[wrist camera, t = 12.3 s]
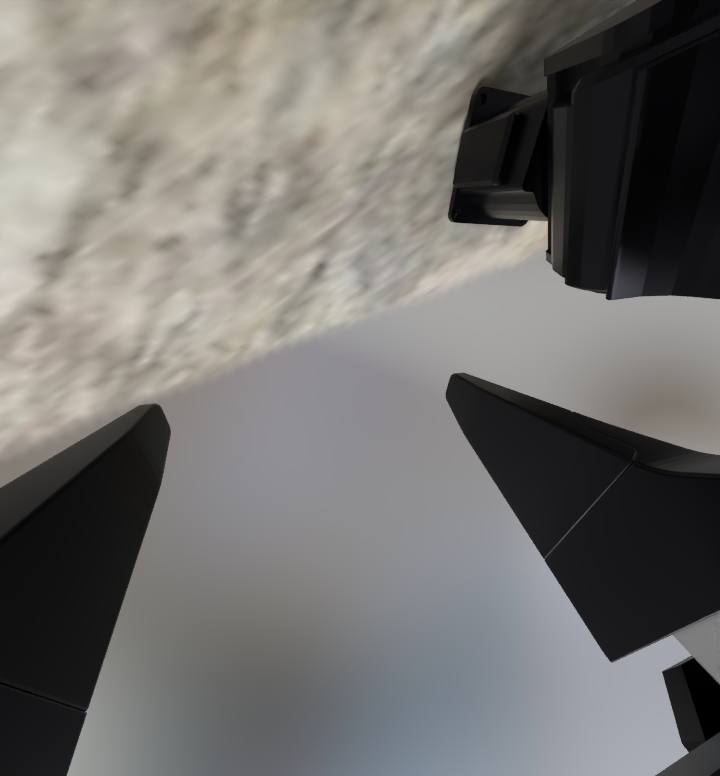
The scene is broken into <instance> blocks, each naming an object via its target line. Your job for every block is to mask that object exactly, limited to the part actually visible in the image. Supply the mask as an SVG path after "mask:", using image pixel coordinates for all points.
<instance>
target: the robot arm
mask: <svg viewBox="0 0 720 776" xmlns="http://www.w3.org/2000/svg"><path fill="white" fill-rule="evenodd" d="M544 76H547V90H545V91H543V92H540V93H538V94H536V95H533V96H527V95H522V94H517V93H513V92H508V91H503V90H499V89H494V88H489V87H481V88H480V89H478V90H476V91H475V92H474V94H473V95H472V98H471V102H470V107H469V112H468V117H467V122H466V127H465V132H464V133H463V134H462V139H461V144H460V149H459V154H458V159H457V164H456V170H455V175H454V180H453V185H454V188H453V193H452V198H451V203H450V208H449V213H448V218H449V220H450V221H451V222H456V223H472V224H488V225H505V226H523V225H525V224H526V223H527V221H528V220H534V221H548V250H547V251H546V260H547V261H548V262H549V263H550V264H552V267H553V270H554V271H555V272H557V273H558V274H559V275H560V276H562V277H564V278H565V284H566V285H568V286H571V287H574V288H578V289H582V290H588V291H593V292H596V293H604V294H606V299H607V300H616V299H623V298H631V297H639V296H668V295H672V296H673V295H674V296H690V297H701V298H712V299H720V0H637V1H635V2H633V3H632V4H630V5H629V6H627V7H625V8H624V9H622V10H621V11H619V12H618V13H616V14H614V15H613V16H611V17H610V18H608V19H606V20H605V21H603V22H602V23H600V24H598V25H597V26H595V27H594V28H592V29H590V30H589V31H587V32H586V33H584V34H583V35H581V36H579V37H578V38H576V39H575V40H573V41H571V42H570V43H568V44H567V45H565V46H563V47H562V48H560V49H559V50H557V51H555V52H554V53H552V54H551V55H549V56H548V57H546V58H545V59H544ZM479 96H481V97H482V104H481V105H479ZM456 211H458V215H457V217H456V218H455V212H456ZM520 220H521V221H520ZM446 399H447V402H448V404H449V406H450V407H451V409H452V412H453V413H454V416H455V418H456V420H457V422H458V424H459V426H460V427H461V429H462V431H463V433H464V435H465V436H466V438H467V439H468V441H469V443H470V444H471V446H472V447H473V449H474V451H475V452H476V454H477V455H478V457H479V459H480V460H481V462H482V463H483V465H484V466H485V468H486V469H487V471H488V473H489V474H490V476H491V477H492V479H493V480H494V482H495V483H496V485H497V486H498V488H499V490H500V491H501V493H502V494H503V496H504V498H505V499H506V501H507V502H508V504H509V505H510V507H511V508H512V510H513V512H514V513H515V515H516V516H517V518H518V519H519V521H520V523H521V524H522V526H523V527H524V529H525V530H526V532H527V533H528V535H529V537H530V538H531V540H532V541H533V543H534V544H535V546H536V548H537V549H538V551H539V552H540V554H541V555H542V557H543V558H544V559H545V562H546V564H547V565H548V567H549V568H550V570H551V571H552V573H553V574H554V576H555V577H556V579H557V581H558V582H559V584H560V585H561V587H562V589H563V590H564V592H565V593H566V595H567V596H568V598H569V599H570V601H571V603H572V604H573V606H574V607H575V609H576V610H577V612H578V614H579V615H580V617H581V618H582V620H583V621H584V623H585V625H586V626H587V628H588V629H589V631H590V632H591V634H592V635H593V637H594V639H595V640H596V642H597V643H598V645H599V646H600V648H601V650H602V651H603V652H604V654H605V655H606V657H607V658H608V659H609V661H610V662H615V661H617V660H619V659H621V658H623V657H625V656H627V655H629V654H632V653H634V652H636V651H638V650H640V649H642V648H644V647H647V646H649V645H651V644H653V643H655V642H657V641H659V640H661V639H663V638H666V637H668V636H670V635H673V636H674V637H675V638H676V639H677V640H678V641H679V642H680V643H681V644H682V645H683V646H684V647H685V649H686V650H687V651H688V652H689V653H690V654H691V655H692V656H690V657H688V658H686V659H685V660H683V661H681V662H679V663H677V664H675V665H673V666H672V667H670V668H668V669H666V670H664V671H663V672H662V673H663V676H664V680H665V684H666V687H667V691H668V695H669V698H670V702H671V706H672V709H673V712H674V716H675V720H676V724H677V727H678V731H679V735H680V738H681V742H682V744H683V745H684V747H685V748H686V749H687V750H688V752H689V753H688V754H687V755H685V756H684V757H682V758H681V759H679V760H678V761H677V762H675V763H673V764H672V765H670V766H669V767H667V768H666V769H665V770H663V771H662V772H660V773H659V774H657V775H656V776H720V455H714V454H707V453H702V452H698V451H693V450H690V449H686V448H683V447H680V446H677V445H673V444H670V443H667V442H664V441H661V440H658V439H654V438H651V437H648V436H645V435H642V434H639V433H635V432H632V431H629V430H626V429H623V428H620V427H616V426H613V425H610V424H608V423H604V422H602V421H599V420H596V419H593V418H590V417H587V416H584V415H581V414H579V413H576V412H571V411H570V410H567V409H565V408H561V407H559V406H556V405H553V404H550V403H548V402H545V401H542V400H539V399H536V398H534V397H531V396H528V395H525V394H522V393H519V392H517V391H514V390H511V389H508V388H505V387H503V386H500V385H497V384H494V383H491V382H488V381H486V380H483V379H480V378H477V377H474V376H471V375H469V374H466V373H455V374H452V375H451V377H450V380H449V383H448V387H447V390H446ZM170 435H171V431H170V426H169V424H168V422H167V419H166V417H165V414H164V412H163V410H162V408H161V407H160V405H158V404H145V405H139V406H137V407H136V408H134V409H132V410H131V411H129V412H127V413H126V414H124V415H122V416H120V417H119V418H117V419H115V420H114V421H112V422H110V423H109V424H107V425H105V426H104V427H102V428H100V429H99V430H97V431H95V432H94V433H92V434H90V435H89V436H87V437H85V438H84V439H82V440H80V441H78V442H77V443H75V444H74V445H72V446H70V447H68V448H67V449H65V450H63V451H62V452H60V453H58V454H57V455H55V456H53V457H52V458H50V459H48V460H47V461H45V462H43V463H42V464H40V465H38V466H37V467H35V468H33V469H31V470H30V471H28V472H26V473H25V474H23V475H21V476H20V477H18V478H16V479H15V480H13V481H11V482H10V483H8V484H6V485H5V486H3V487H1V488H0V776H67V773H68V770H69V766H70V763H71V760H72V757H73V754H74V751H75V748H76V745H77V742H78V739H79V736H80V733H81V729H82V727H83V724H84V721H85V717H86V714H87V713H86V712H85V711H86V710H87V709H88V707H89V704H90V701H91V698H92V695H93V692H94V689H95V686H96V683H97V680H98V677H99V673H100V670H101V667H102V664H103V661H104V658H105V655H106V652H107V649H108V646H109V643H110V640H111V637H112V634H113V631H114V628H115V625H116V621H117V618H118V615H119V612H120V609H121V606H122V603H123V600H124V597H125V594H126V591H127V588H128V584H129V582H130V579H131V575H132V572H133V569H134V566H135V563H136V560H137V557H138V554H139V551H140V548H141V545H142V541H143V538H144V535H145V533H146V529H147V526H148V523H149V520H150V517H151V514H152V511H153V508H154V505H155V502H156V499H157V496H158V492H159V489H160V486H161V482H162V477H163V473H164V467H165V461H166V457H167V451H168V446H169V440H170Z"/></svg>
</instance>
